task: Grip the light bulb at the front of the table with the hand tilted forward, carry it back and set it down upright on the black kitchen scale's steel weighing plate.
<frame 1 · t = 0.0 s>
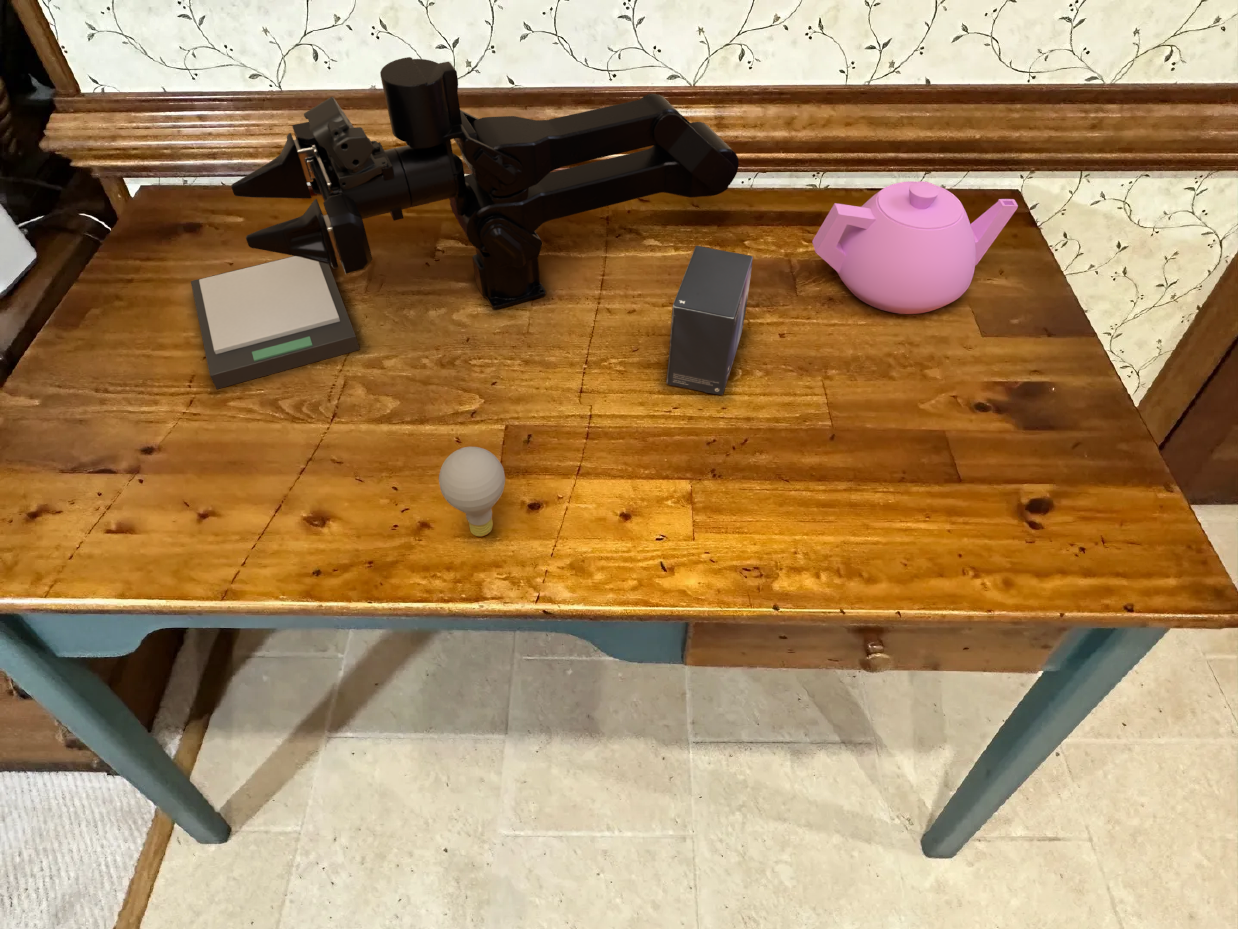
hand: (239, 215, 83), 17 cm above the table, tool horizontal, fingers open, 9 cm apart
small box: (705, 360, 94), on the table
scale: (274, 316, 99), on the table
light bulb: (482, 532, 79), on the table
teapot: (898, 280, 103), on the table
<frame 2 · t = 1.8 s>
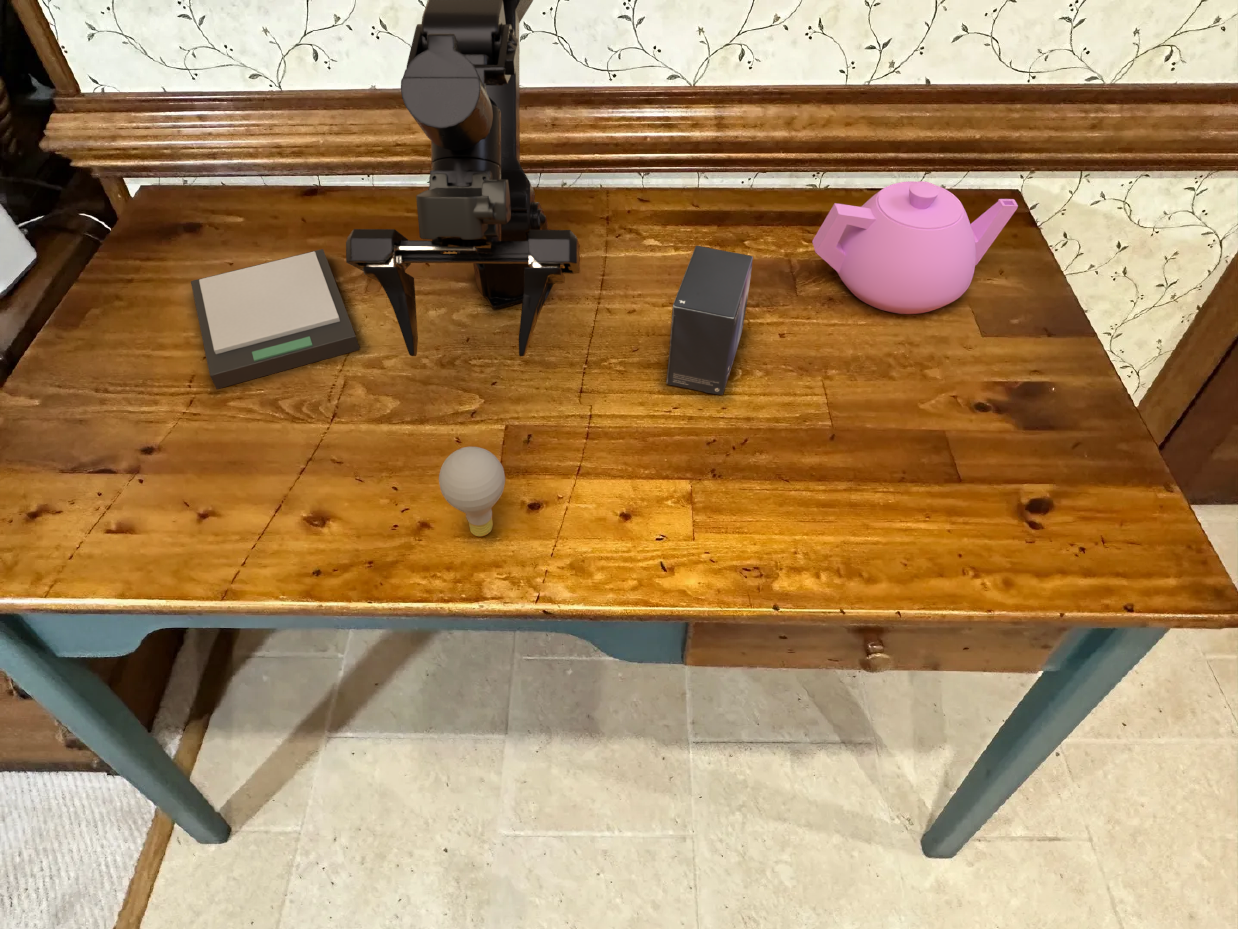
hand: (467, 356, 74), 14 cm above the table, tool tilted 45°, fingers open, 9 cm apart
nothing on the table moved.
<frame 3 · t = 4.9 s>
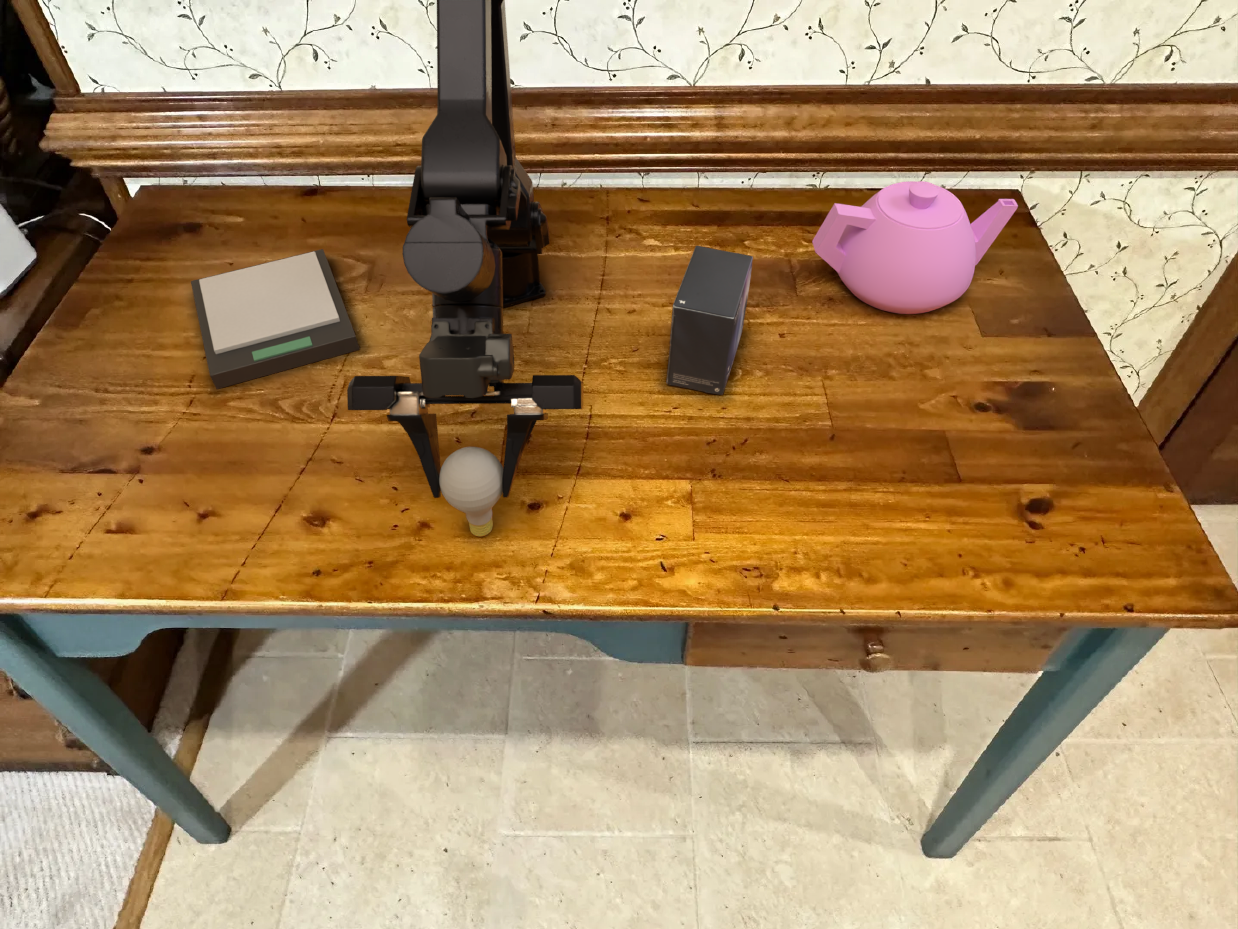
hand: (471, 497, 73), 7 cm above the table, tool tilted 45°, fingers closed on light bulb, 5 cm apart
light bulb: (482, 532, 79), on the table, touching gripper
everything else where it was.
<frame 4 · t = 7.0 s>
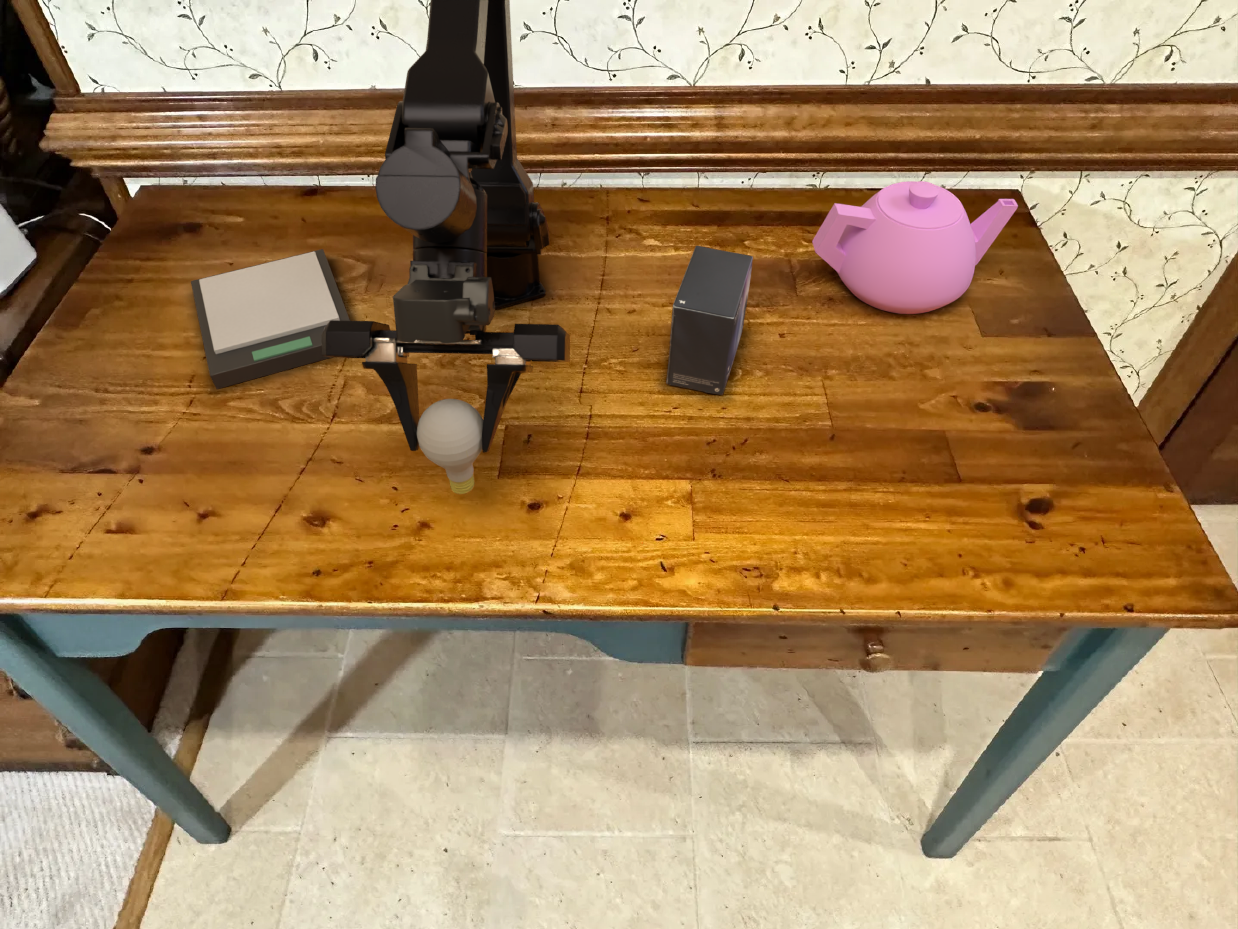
hand: (449, 451, 70), 11 cm above the table, tool tilted 45°, fingers closed on light bulb, 5 cm apart
light bulb: (464, 490, 76), point 5 cm above the table, touching gripper
everything else where it was.
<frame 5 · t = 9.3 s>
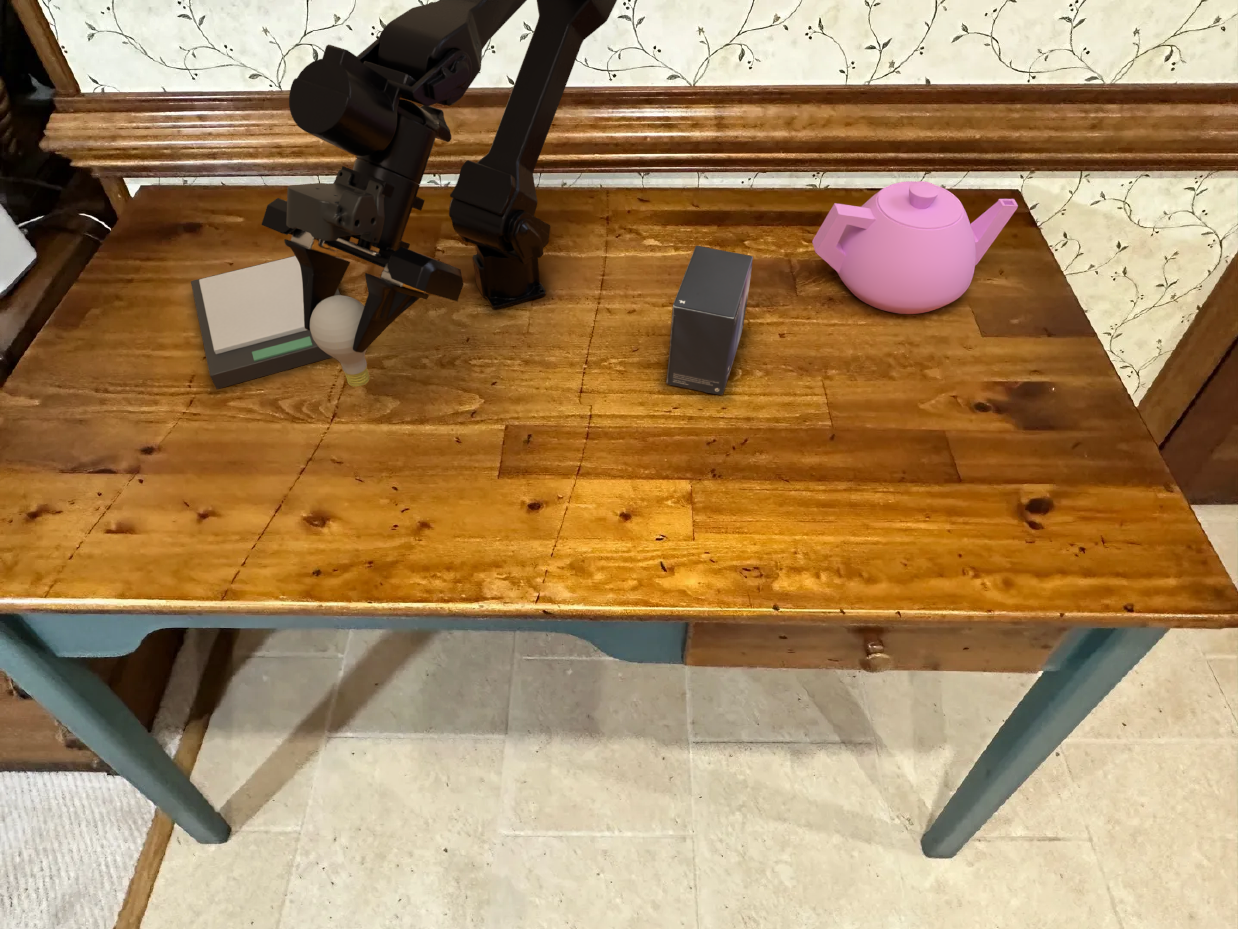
hand: (333, 340, 79), 11 cm above the table, tool tilted 45°, fingers closed on light bulb, 5 cm apart
light bulb: (360, 385, 85), point 5 cm above the table, touching gripper
everything else where it was.
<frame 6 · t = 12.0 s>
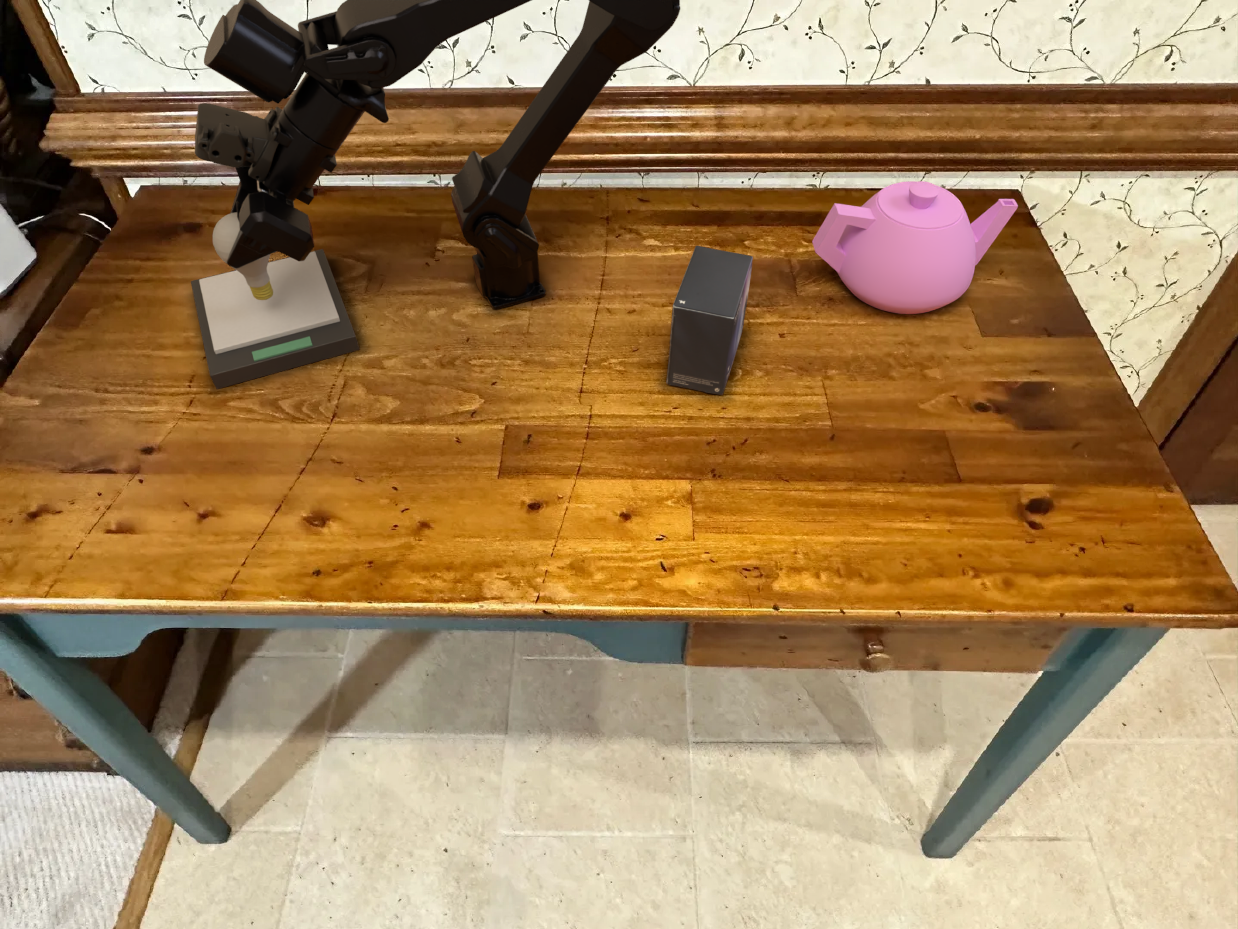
hand: (230, 248, 88), 11 cm above the table, tool tilted 45°, fingers closed on light bulb, 5 cm apart
light bulb: (266, 299, 93), point 5 cm above the table, touching gripper
everything else where it was.
when the fingers open (9 cm above the table, at t = 14.1 s): light bulb stays where it is, resting on scale.
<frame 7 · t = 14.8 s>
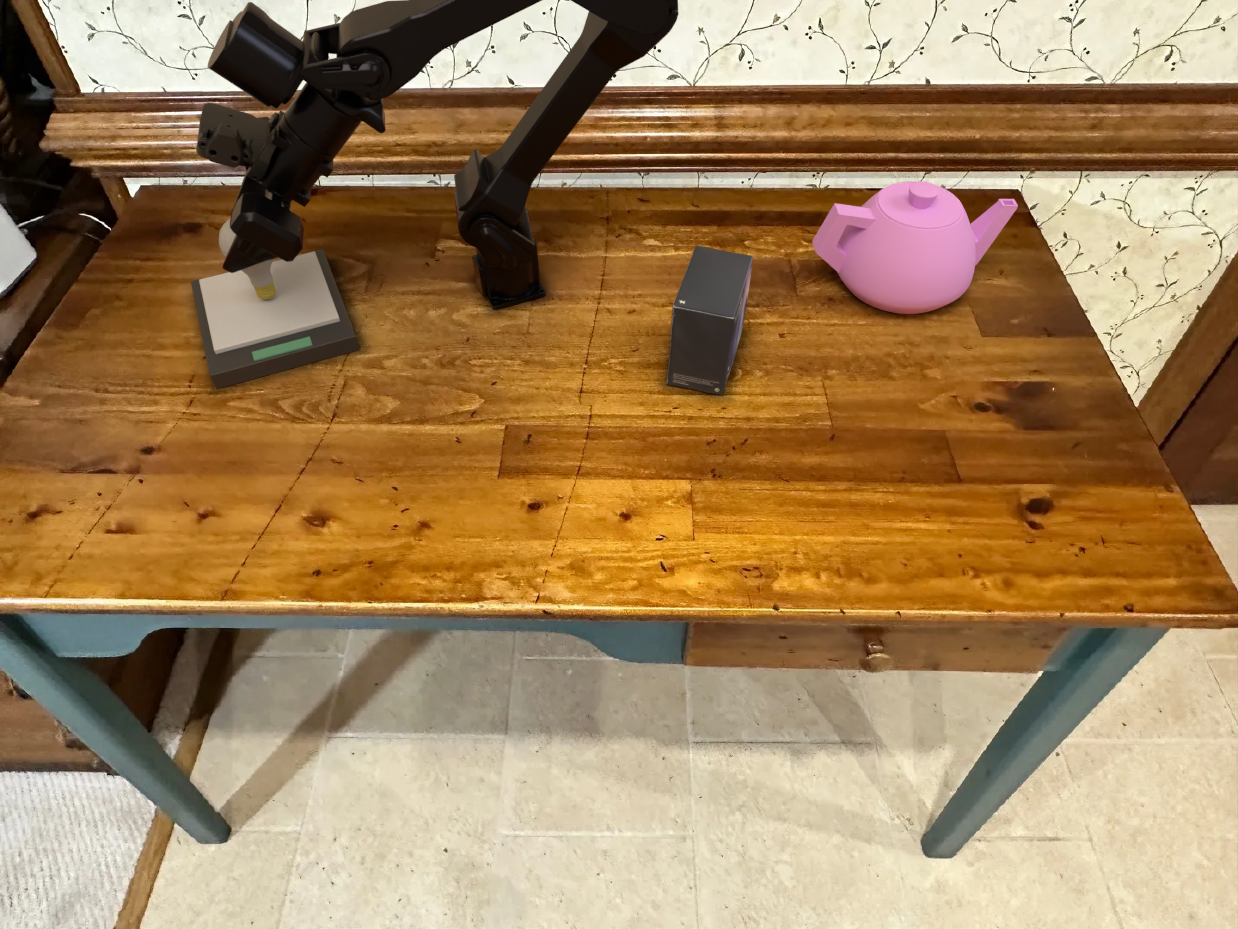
hand: (231, 243, 91), 10 cm above the table, tool tilted 45°, fingers open, 9 cm apart
light bulb: (269, 299, 97), point 2 cm above the table, touching scale
everything else where it was.
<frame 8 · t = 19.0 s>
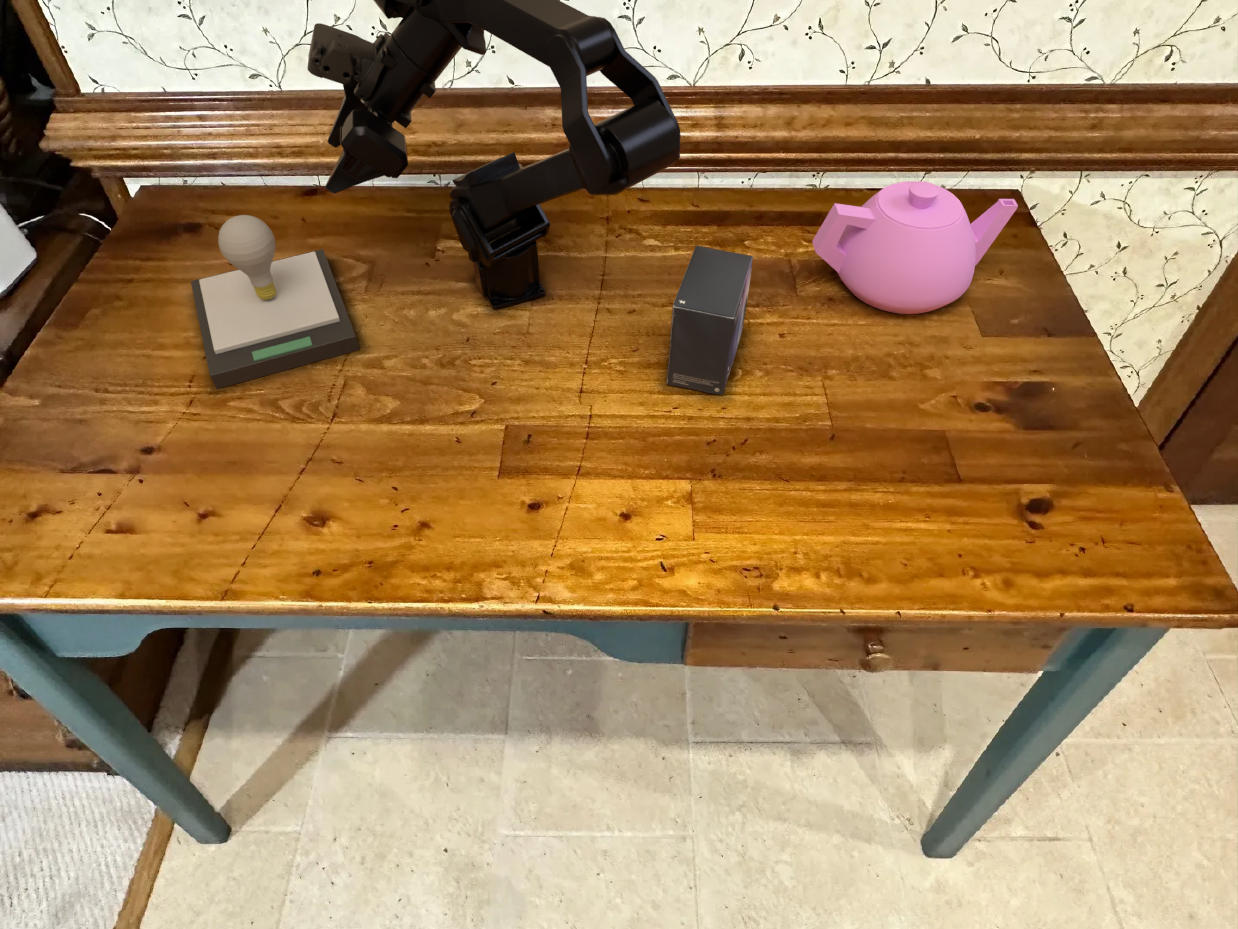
hand: (330, 166, 94), 14 cm above the table, tool tilted 45°, fingers open, 9 cm apart
nothing on the table moved.
at the end: light bulb inside the target area on the scale (0.1 cm from its centre), point 2.4 cm above the scale's base; light bulb tilted 0°; the gripper is holding nothing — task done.
